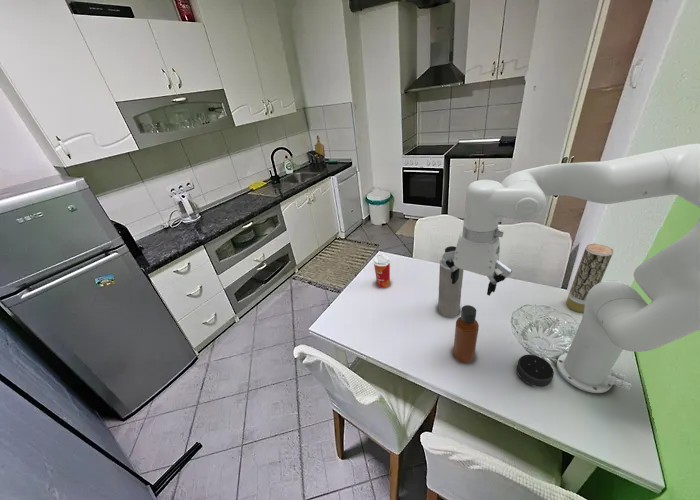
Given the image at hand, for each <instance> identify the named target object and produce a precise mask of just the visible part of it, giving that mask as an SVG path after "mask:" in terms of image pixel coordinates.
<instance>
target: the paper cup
mask: <svg viewBox="0 0 700 500" xmlns="http://www.w3.org/2000/svg"><path fill="white" fill-rule="evenodd" d="M372 264H373V266H374V272H375V279H376V285H377V286H378V287H379V288H382V289H385V288H388V287H389V286H390V284H391V283H390V282H391V259H390V257H389V256H388V255H386V254H378V255H376V256H374V257H373V260H372Z"/></svg>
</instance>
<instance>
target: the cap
mask: <svg viewBox="0 0 700 500" xmlns="http://www.w3.org/2000/svg"><path fill="white" fill-rule="evenodd" d="M460 317H461V319H462V321H464V322H466V323H473V322H474V321H475V320H476V319H477V318H476V317H477V309H476V308H475V306H473V305H470V304H467V305H466V304H465V305H464V306H462V307H461V311H460Z"/></svg>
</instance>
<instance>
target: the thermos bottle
mask: <svg viewBox="0 0 700 500" xmlns="http://www.w3.org/2000/svg"><path fill="white" fill-rule="evenodd" d="M455 250H456V246H453V245H449V246H447V247H445V249H444V253H446V252H450V251H455ZM450 259H452V261H453V262H454V257H450ZM438 275H439V277H438V298H437V311H438V313H439V314H440V315H442V316H443V317H446V318H454V317H457V316H458V315H459V314H460V309H461V300H462V298H461V297H462V288H463V278H464V270H463V269H460V268H459V278H458V280H457V282H456V283H455V284H452V279H451V271H450V268H449V267H448V266H447V264H446V261H445V260H444V258H443V256H441V260H440V261H439V273H438Z"/></svg>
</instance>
